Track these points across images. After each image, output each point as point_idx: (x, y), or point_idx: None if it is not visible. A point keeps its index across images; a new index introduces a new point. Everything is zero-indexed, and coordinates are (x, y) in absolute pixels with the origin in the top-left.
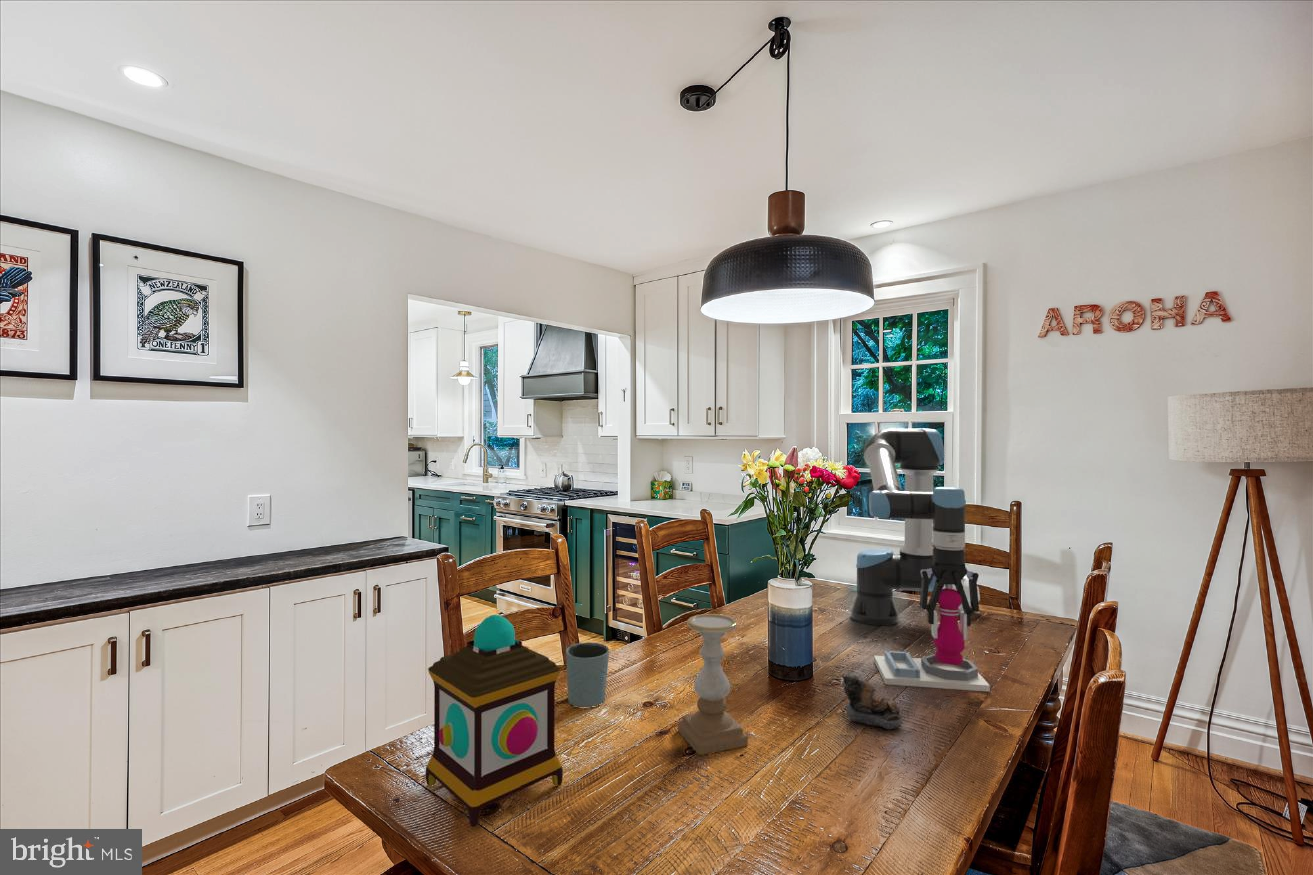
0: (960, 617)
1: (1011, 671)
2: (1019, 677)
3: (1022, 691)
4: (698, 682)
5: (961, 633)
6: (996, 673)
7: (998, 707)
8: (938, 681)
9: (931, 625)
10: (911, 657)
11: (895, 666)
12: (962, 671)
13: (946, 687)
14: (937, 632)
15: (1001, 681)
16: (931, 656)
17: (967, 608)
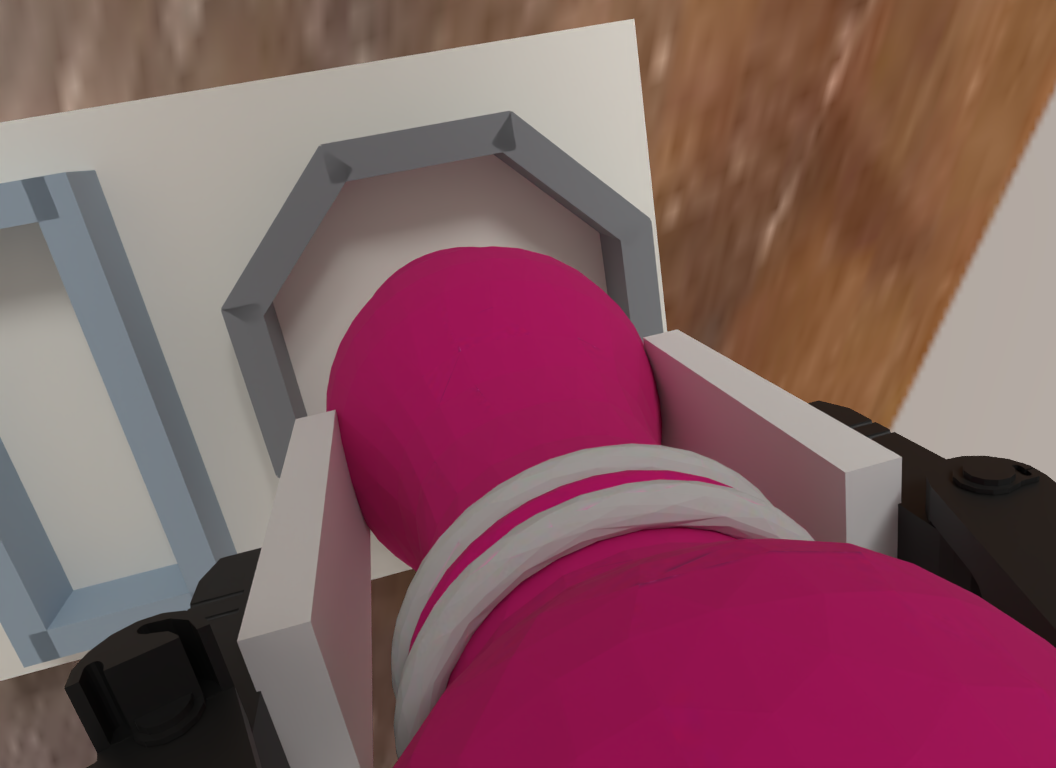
0: (774, 438)
1: (906, 14)
2: (914, 134)
3: (846, 390)
4: None
5: (668, 399)
6: (791, 105)
7: None
8: (372, 572)
9: (281, 477)
10: (125, 330)
11: (20, 618)
12: None
13: None
14: (371, 511)
15: (779, 266)
16: (315, 224)
17: None
